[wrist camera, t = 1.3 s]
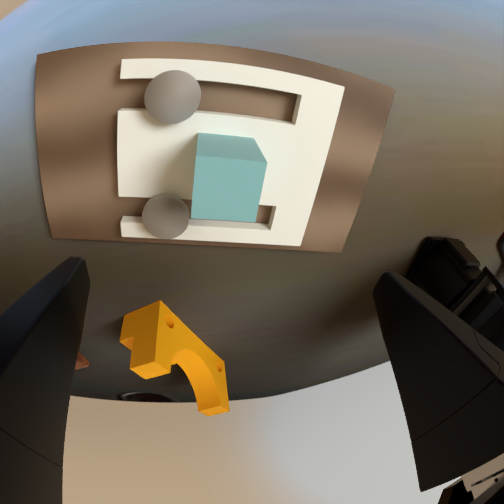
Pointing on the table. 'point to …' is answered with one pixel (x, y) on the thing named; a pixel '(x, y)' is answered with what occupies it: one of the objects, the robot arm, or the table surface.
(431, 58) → the table surface
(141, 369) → the pipe clamp
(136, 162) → the keyhole panel
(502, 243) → the handheld game console
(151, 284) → the table surface
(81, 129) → the boss board
